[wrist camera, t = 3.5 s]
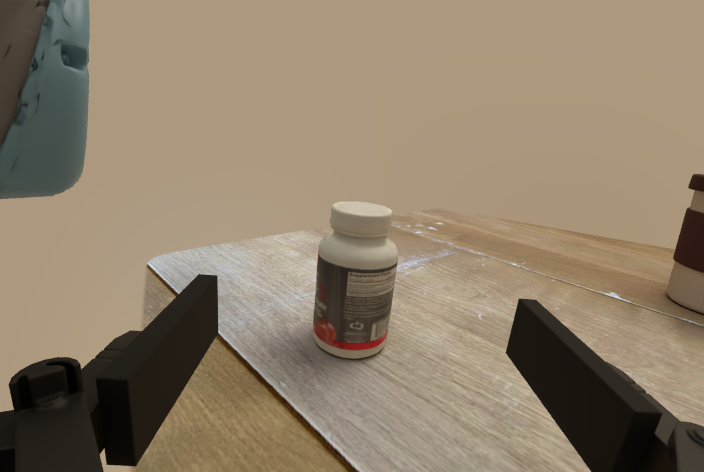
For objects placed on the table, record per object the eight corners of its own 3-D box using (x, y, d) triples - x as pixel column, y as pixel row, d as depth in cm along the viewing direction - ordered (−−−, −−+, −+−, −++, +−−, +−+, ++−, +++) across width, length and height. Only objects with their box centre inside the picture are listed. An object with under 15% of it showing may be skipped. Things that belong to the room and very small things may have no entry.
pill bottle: (303, 324, 28) (311, 198, 25) (367, 316, 30) (380, 199, 27) (325, 367, 23) (338, 218, 20) (399, 354, 25) (420, 217, 22)
